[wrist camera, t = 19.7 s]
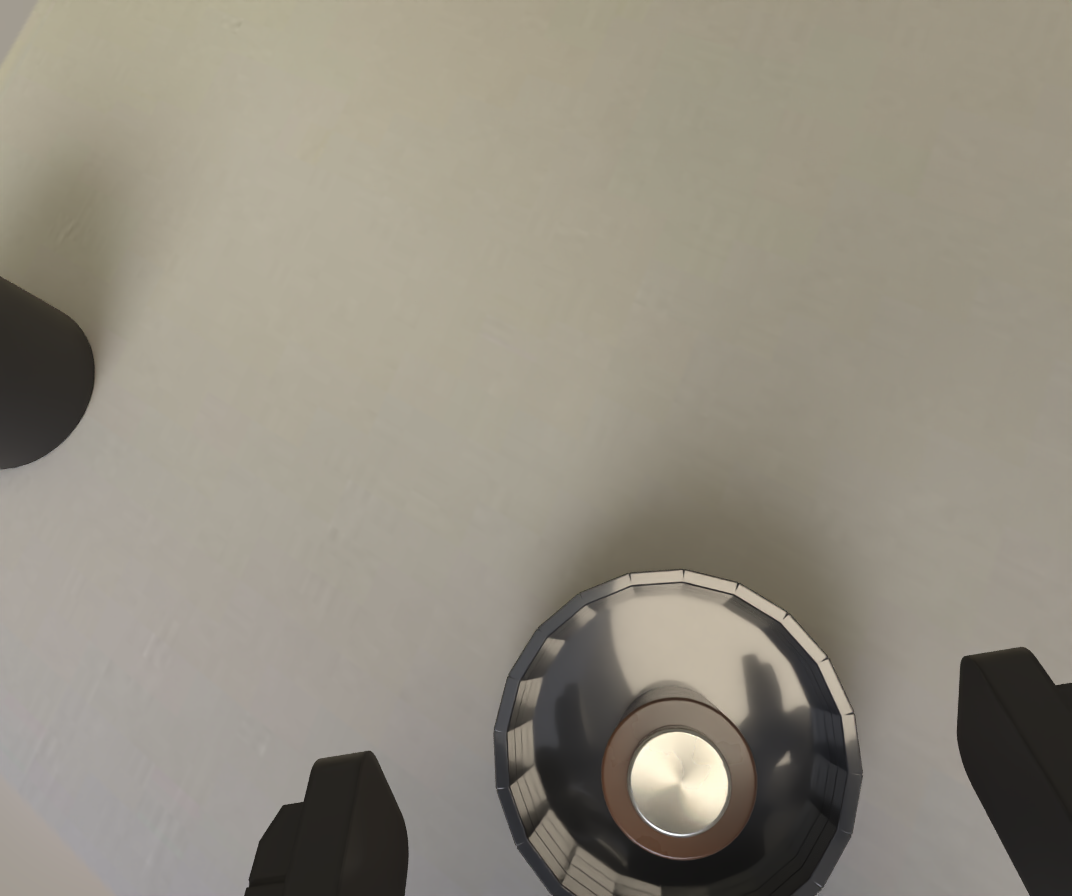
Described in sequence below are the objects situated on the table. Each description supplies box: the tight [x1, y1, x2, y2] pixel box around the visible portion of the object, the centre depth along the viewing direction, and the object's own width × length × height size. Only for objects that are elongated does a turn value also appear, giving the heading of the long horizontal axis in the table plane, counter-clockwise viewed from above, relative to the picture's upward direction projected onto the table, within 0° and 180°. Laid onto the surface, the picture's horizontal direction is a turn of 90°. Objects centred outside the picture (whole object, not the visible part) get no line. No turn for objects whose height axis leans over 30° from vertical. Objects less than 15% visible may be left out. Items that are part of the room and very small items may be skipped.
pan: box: [494, 569, 863, 896], centre depth 25 cm, size 10×10×3 cm
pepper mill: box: [601, 687, 757, 861], centre depth 22 cm, size 3×3×8 cm
